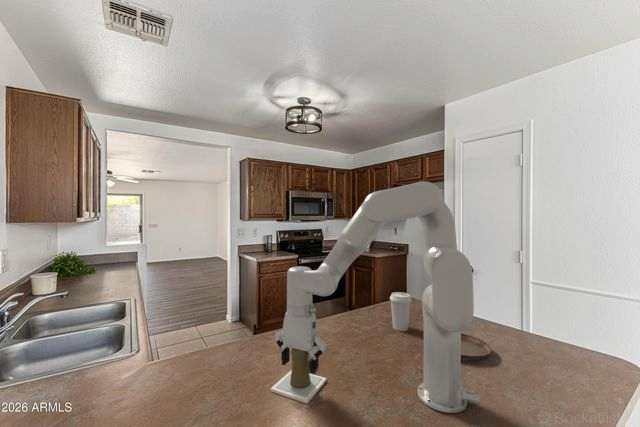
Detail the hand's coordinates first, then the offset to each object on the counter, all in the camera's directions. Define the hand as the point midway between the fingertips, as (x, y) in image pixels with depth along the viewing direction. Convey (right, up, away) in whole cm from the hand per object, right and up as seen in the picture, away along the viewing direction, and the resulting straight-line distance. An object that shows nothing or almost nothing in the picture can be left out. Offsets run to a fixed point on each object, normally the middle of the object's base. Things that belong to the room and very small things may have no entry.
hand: (299, 366), depth 86 cm
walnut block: (0, -6, +13) cm, 14 cm away
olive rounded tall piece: (0, -5, 0) cm, 5 cm away
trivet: (0, -6, 0) cm, 6 cm away
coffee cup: (+42, -6, +44) cm, 61 cm away
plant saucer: (+59, -6, +23) cm, 63 cm away
